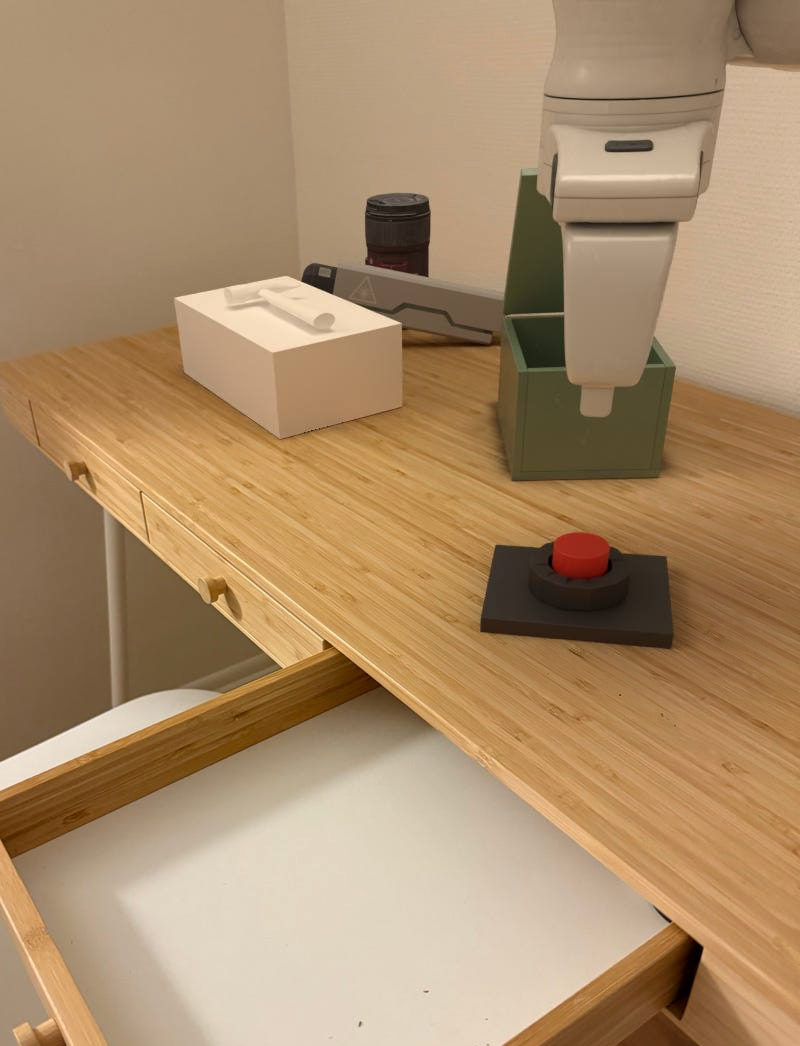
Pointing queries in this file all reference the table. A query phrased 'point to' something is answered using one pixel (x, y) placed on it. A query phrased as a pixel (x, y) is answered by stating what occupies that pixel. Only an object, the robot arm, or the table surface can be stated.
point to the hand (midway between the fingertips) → (594, 408)
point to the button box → (579, 599)
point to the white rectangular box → (291, 354)
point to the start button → (580, 555)
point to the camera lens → (398, 232)
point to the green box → (575, 410)
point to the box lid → (534, 254)
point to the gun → (414, 299)
